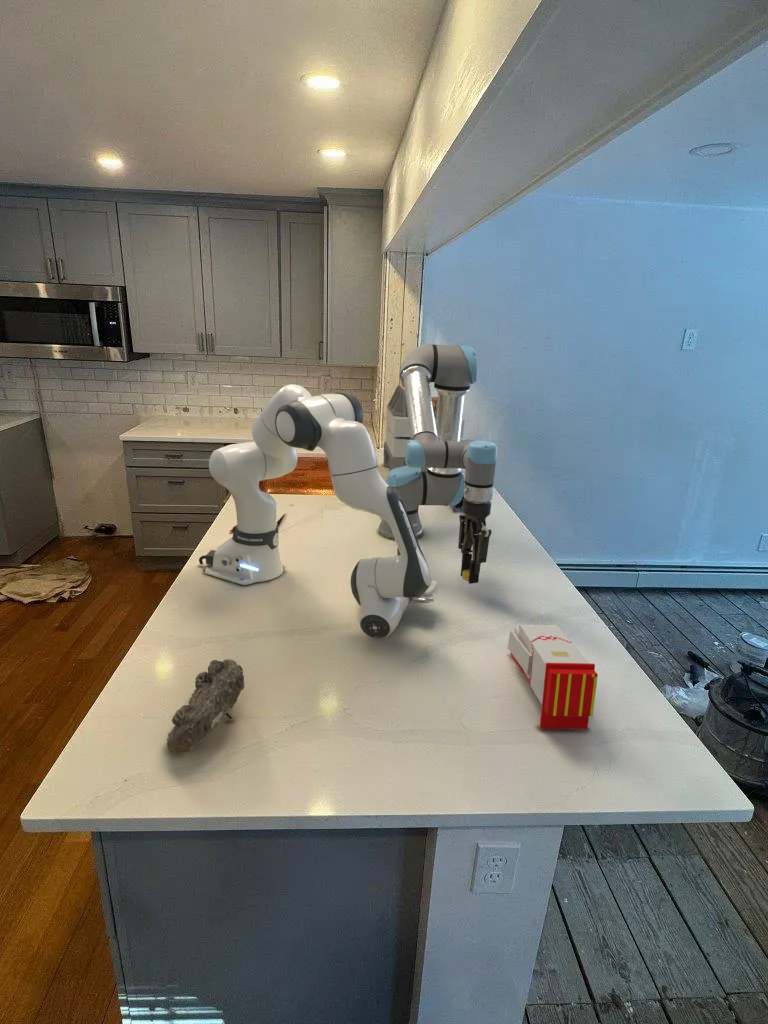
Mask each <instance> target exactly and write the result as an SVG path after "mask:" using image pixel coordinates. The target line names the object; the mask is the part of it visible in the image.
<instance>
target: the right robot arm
mask: <svg viewBox="0 0 768 1024" xmlns="http://www.w3.org/2000/svg"><path fill="white" fill-rule="evenodd" d="M478 367H479V366H478V359H477V354H476V351H475V350H474V348H473V347H471V346H469V345H463V344H462V345H461V344H432V343H425V344H424V343H423V344H421V345H419V346H416V347H415V348H413V349H412V350H410V352H409V353H408V354H407V355H406V356H405V358H404V359H403V361H402V363H401V365H400V369H399V381H400V384H401V385H400V386H401V387H402V388H403V389H404V390H405V396H406V404H407V412H408V420H409V428H410V436H411V440H409V441H407V443H406V446H405V462H406V465H404V466H403V467H398V468H394V469H392V470H391V471H390V470H388V473H387V475H386V480H385V482H386V483H387V484H388V485H389V486H390V487H393V488H395V489H396V490H397V492H398V493H399V495H400V497H401V499H402V501H403V504H404V506H405V509H406V511H407V514H408V517H409V519H410V522H411V523H412V524H413V530H414V533H415V536H416V538H417V539H418V538H420V537H421V536H422V535H423V525H422V524H421V518H420V515H419V507H420V506H442V507H443V506H444V507H448V506H450V505H457V504H458V503H459V502H460V501H461V499H462V497H463V494H464V498H465V499H464V500H463V506H462V507H461V508H462V511H461V512H462V514H459V516H458V517H459V518H458V519H459V529H458V531H459V532H458V543H457V544H458V545H457V548H458V549H459V550H460V552H461V554H462V555H461V567H460V577H462V573H463V571H464V570H466V569H470V572H469V581H467V582H468V584H470V585H471V584H478V583H479V580H480V572H481V566H482V565H481V564H483V563H486V562H487V558H488V551H489V545H490V537H491V535H492V529H488V528H487V522H486V521H487V518H488V517H489V516H490V515H491V510H492V500H493V494H494V482H495V473H496V467H497V460H498V445H497V444H495V443H494V442H491V441H489V440H475V439H472V438H464V439H463V438H462V439H461V438H460V433H461V423H462V419H463V414H464V413H463V412H464V403H465V395H466V394H467V393H468V392H469V391H470V390H471V385H473V384H475V383H476V382H477V381H478V380H477V379H478V373H479V371H478V370H479V368H478ZM431 383H433V388H434V389H435V391H436V392H437V397H438V401H437V412H436V424H435V418H434V411H433V405H432V399H431V397H432V393H431V388H430V384H431ZM460 439H461V441H460ZM422 469H426V471H422ZM462 470H465V474H464V472H462ZM378 533H379V534H380V535H381V536H382V537H385V538H387V539H389V540H395V538H394V535H393V532H392V530H391V527H390V525H389V524H388V523H387V521H386V520H384V519H383V518H381V522H379V525H378Z"/></svg>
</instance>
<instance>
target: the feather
mask: <svg viewBox="0 0 768 1024" xmlns="http://www.w3.org/2000/svg"><path fill="white" fill-rule="evenodd" d="M285 515H286V513H283V515H281V517H280V518H279V519H278V520H277V525H278V527H279V526H280V525H281V522H282V520H283V519H284V517H285Z"/></svg>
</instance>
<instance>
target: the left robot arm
mask: <svg viewBox="0 0 768 1024" xmlns="http://www.w3.org/2000/svg"><path fill="white" fill-rule="evenodd" d="M363 422H364V411H363V407H362V404H361V402H360V400H359V399H358V398H357V397H356V396H355V395H353V394H351V393H347V392H341V391H339V392H337V391H336V392H332V393H323V394H316V395H315V394H314V395H312V394H311V392H309V390H307V389H306V388H305V387H303V386H302V385H299V384H294V383H292V384H291V383H289V384H286V385H284V386H283V387H281V388H279V390H277V392H275V394H274V395H272V397H271V398H270V399H269V401H268V402H267V403H266V405H265V406H264V407H263V409H262V410H261V411H260V414H259V415H258V417H257V418H256V420H255V421H254V423H253V425H252V427H251V436H252V441H246V442H238V443H232V444H231V443H230V444H229V445H225V446H222V447H219V448H218V449H215V450H213V451H212V453H211V454H210V457H209V460H208V470H209V473H210V475H211V477H212V479H213V480H214V481H215V482H216V483H217V484H219V485H220V486H221V487H224V488H225V489H226V490H227V491H228V492H229V494H230V495H231V497H232V499H233V501H234V505H235V515H236V525H234V526H233V527H232V528H231V529H230V530H229V531H228V532H229V534H228V535H232V537H230V538H229V539H228V540H226V541H225V542H224V543H222V544H220V545H219V546H218V547H217V548H216V550H214V549H211V550H209V552H207V553H206V554H205V555H202V556H200V557H199V558H198V562H199V565H204V562H203V560H205V564H206V567H205V571H204V572H205V574H206V575H209V576H213V577H216V578H218V579H222V580H225V581H227V582H228V581H229V582H231V583H235V584H238V585H242V586H247V585H251V584H255V583H260V582H261V583H262V582H268V581H271V580H274V579H277V578H278V577H280V576H281V575H282V574H283V573H284V567H283V564H282V561H281V557H280V550H279V544H280V543H279V541H280V538H279V537H280V534H279V533H280V532H279V526H278V525H277V524H278V523H277V522H278V519H277V503H276V500H275V499H274V497H273V496H272V495H270V494H269V493H267V492H266V491H262V490H261V489H260V482H261V481H262V482H263V481H267V480H271V479H278V478H281V477H283V476H285V475H288V474H290V473H292V472H294V470H295V469H296V468H297V465H298V462H299V460H298V459H299V455H298V451H297V449H302V450H306V451H308V452H309V451H310V452H313V451H314V450H315V449H316V448H317V447H318V448H320V450H322V451H323V452H324V453H325V455H326V459H327V462H328V463H327V464H328V470H329V475H330V480H331V485H332V488H333V491H334V493H335V496H336V498H337V499H338V500H339V501H340V502H341V503H343V504H344V505H345V506H347V507H349V508H351V509H353V510H356V511H361V512H365V513H369V514H372V515H375V516H378V517H380V518H381V519H384V520H386V521H387V523H388V524H389V525H390V527H391V530H392V532H393V535H394V538H395V539H394V540H395V543H396V546H397V547H398V549H399V551H400V554H401V555H400V556H397V555H391V556H384V557H383V556H382V557H381V556H378V557H369V558H361V559H359V561H358V562H357V563H356V564H355V566H354V568H353V570H352V572H351V575H350V580H349V581H350V582H349V583H350V589H351V592H352V595H353V599H354V600H355V601H356V602H357V604H358V605H359V607H360V615H359V626H360V629H361V630H362V632H363V634H365V635H366V636H368V637H370V638H372V639H385V638H387V637H389V636H390V635H391V634H392V633H393V632H394V631H395V629H397V626H398V625H399V623H400V621H401V619H402V617H403V614H404V613H405V611H406V609H407V607H408V605H409V603H410V602H412V603H416V604H417V603H418V604H424V605H426V604H430V603H433V602H434V601H435V599H436V596H437V594H438V588H439V587H438V586H439V584H438V582H437V581H436V580H434V579H432V574H431V569H430V566H429V564H428V561H427V559H426V557H425V555H424V553H423V551H422V549H421V547H420V544H419V541H418V538H416V536H415V533H414V530H413V527H412V525H411V522H410V519H409V517H408V514H407V511H406V509H405V506H404V504H403V501H402V499H401V497H400V495H399V493H398V492H397V490H396V489H395V488H393V487H390V486H389V485H388V484H387V483H386V480H385V479H384V478H383V475H382V473H381V472H380V468H379V463H378V459H377V455H376V451H375V450H376V449H375V447H374V444H373V441H372V438H371V436H370V434H369V431H368V429H367V427H366V426H365V425H364V424H363Z"/></svg>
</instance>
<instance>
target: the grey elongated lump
mask: <svg viewBox="0 0 768 1024" xmlns="http://www.w3.org/2000/svg"><path fill="white" fill-rule="evenodd" d="M243 670H244V669H243V667H242V665H240V664H237V662H236V661H235V660H234V659H232V658H231V659H227V658H226V659H224V660H223V661H222V660H217V659H212V660H211V661H210V663H209V665H208V666H207V671H201V672H199V673H198V674H197V675H196V676H195V680H194V684H195V685H194V687H195V689H194V690H193V693H192V694H191V697H190V698H189V700H188V704H184V705H182V706H181V707H180V709H177V710H176V711H175V713H174V715H173V716H172V718H171V723H172V724H173V727H172V730H171V731H170V732H168V734H167V738H166V741H167V742H166V745H167V749H168V750H169V751H173V752H174V753H176V754H178V753H182V752H188V751H189V752H192V751H193V750H195V748H196V747H197V746H199V744H200V743H201V742H203V741H204V740H205V739H206V738H207V737H208V736H209V735H210V734H211V733H212V732H214V730H215V729H217V727H218V726H219V724H220V722H221V721H222V720H223V719H224V718H225V716H226V717H227V719H229V720H233V717H232V715H230V714H229V710H230V709H231V708H234V706H235V704H236V703H237V702H238V699H239V697H240V695H241V693H242V691H243V690H245V689H244V688H245V675H244V671H243Z"/></svg>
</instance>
